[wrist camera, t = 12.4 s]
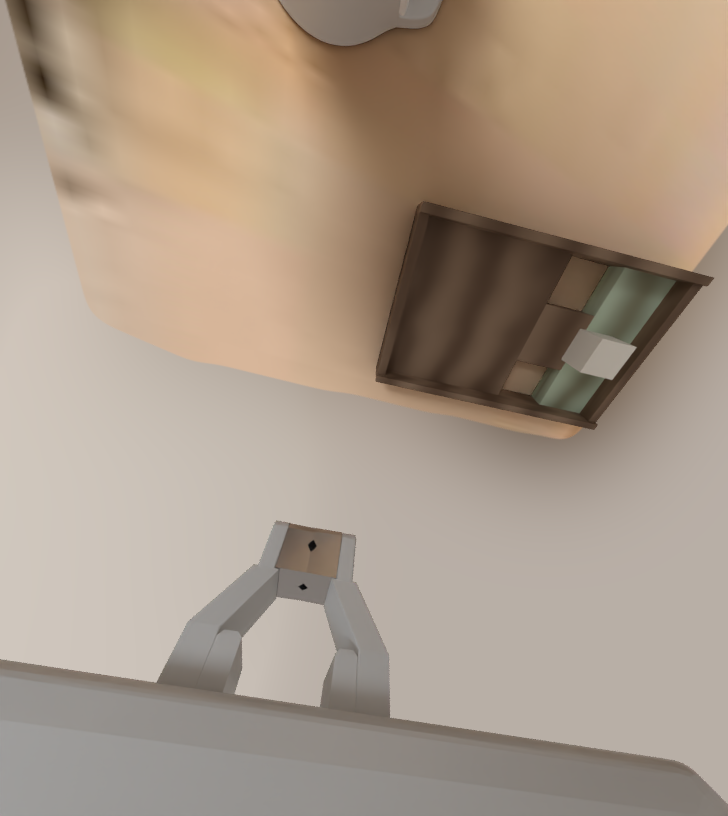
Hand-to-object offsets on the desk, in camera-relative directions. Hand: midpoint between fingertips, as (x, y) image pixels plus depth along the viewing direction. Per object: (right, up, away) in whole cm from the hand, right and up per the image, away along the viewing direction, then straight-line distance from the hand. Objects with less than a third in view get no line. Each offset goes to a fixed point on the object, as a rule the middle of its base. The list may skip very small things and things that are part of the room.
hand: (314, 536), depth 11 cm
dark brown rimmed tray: (+20, +16, +26) cm, 36 cm away
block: (+29, +12, +24) cm, 40 cm away
